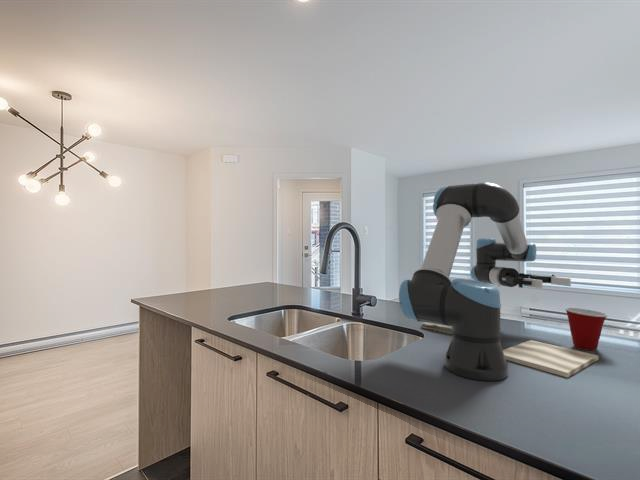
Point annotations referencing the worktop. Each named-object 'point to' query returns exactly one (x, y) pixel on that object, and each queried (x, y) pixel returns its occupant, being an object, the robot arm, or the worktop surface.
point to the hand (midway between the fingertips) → (556, 283)
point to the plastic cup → (585, 327)
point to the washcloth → (437, 327)
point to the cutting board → (549, 357)
